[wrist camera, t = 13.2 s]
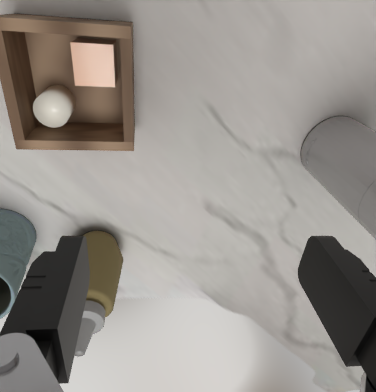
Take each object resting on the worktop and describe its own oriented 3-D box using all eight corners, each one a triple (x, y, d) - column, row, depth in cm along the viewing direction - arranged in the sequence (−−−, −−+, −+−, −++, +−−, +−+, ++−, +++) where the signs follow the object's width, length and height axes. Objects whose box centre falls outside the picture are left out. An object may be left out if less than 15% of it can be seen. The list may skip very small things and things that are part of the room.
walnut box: (132, 22, 34) (131, 26, 28) (134, 128, 40) (133, 150, 34) (14, 13, 32) (-15, 16, 26) (35, 126, 38) (16, 149, 32)
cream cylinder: (73, 85, 36) (67, 94, 32) (77, 116, 37) (71, 128, 34) (40, 84, 35) (29, 92, 32) (45, 115, 37) (36, 127, 34)
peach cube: (115, 40, 34) (113, 44, 30) (117, 79, 36) (115, 87, 32) (77, 38, 33) (70, 42, 30) (81, 77, 35) (75, 85, 32)
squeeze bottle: (102, 270, 52) (86, 381, 37) (60, 246, 48) (23, 358, 33) (134, 242, 50) (132, 347, 35) (93, 214, 46) (70, 319, 31)
